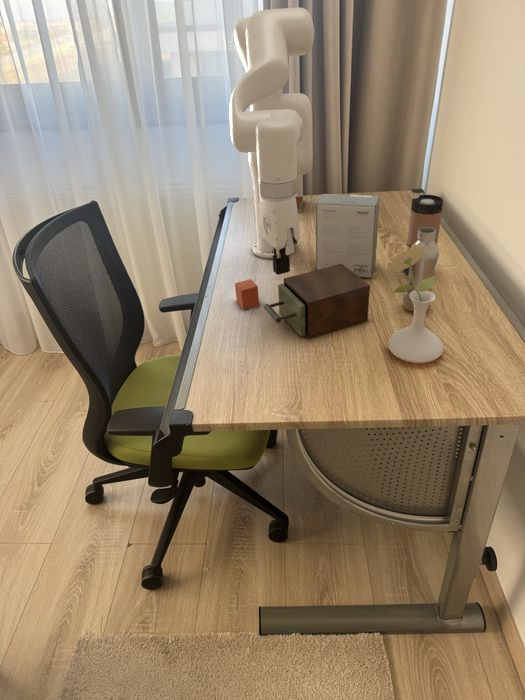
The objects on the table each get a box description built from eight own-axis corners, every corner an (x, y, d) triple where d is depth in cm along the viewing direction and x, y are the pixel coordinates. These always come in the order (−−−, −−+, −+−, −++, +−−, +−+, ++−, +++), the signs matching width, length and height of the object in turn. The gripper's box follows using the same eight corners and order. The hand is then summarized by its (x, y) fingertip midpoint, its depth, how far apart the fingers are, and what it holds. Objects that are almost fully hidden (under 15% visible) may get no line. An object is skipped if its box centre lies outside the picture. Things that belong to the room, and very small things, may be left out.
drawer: (280, 342, 114) (279, 312, 109) (260, 318, 122) (258, 289, 118) (356, 319, 119) (357, 290, 115) (331, 298, 128) (332, 270, 123)
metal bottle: (398, 303, 126) (406, 225, 114) (425, 300, 126) (436, 223, 115) (406, 316, 121) (416, 237, 109) (434, 314, 121) (447, 234, 109)
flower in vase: (432, 335, 114) (450, 228, 99) (449, 366, 105) (471, 254, 90) (374, 339, 114) (383, 233, 99) (386, 370, 105) (397, 259, 90)
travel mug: (433, 279, 135) (445, 205, 123) (403, 278, 136) (412, 204, 124) (431, 266, 141) (442, 194, 129) (403, 265, 142) (411, 194, 130)
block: (236, 302, 131) (234, 283, 128) (252, 297, 132) (251, 279, 129) (243, 310, 128) (241, 290, 124) (259, 305, 129) (257, 286, 126)
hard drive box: (375, 266, 143) (381, 195, 131) (371, 278, 137) (377, 206, 125) (321, 260, 147) (322, 192, 136) (314, 272, 141) (315, 202, 130)
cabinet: (308, 339, 116) (308, 302, 110) (284, 313, 125) (283, 278, 120) (367, 321, 120) (370, 285, 115) (340, 297, 130) (341, 263, 124)
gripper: (246, 180, 105) (252, 262, 115) (276, 202, 93) (280, 290, 104) (279, 174, 107) (282, 255, 117) (313, 194, 95) (313, 282, 106)
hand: (281, 271), depth 111 cm, fingers closed
